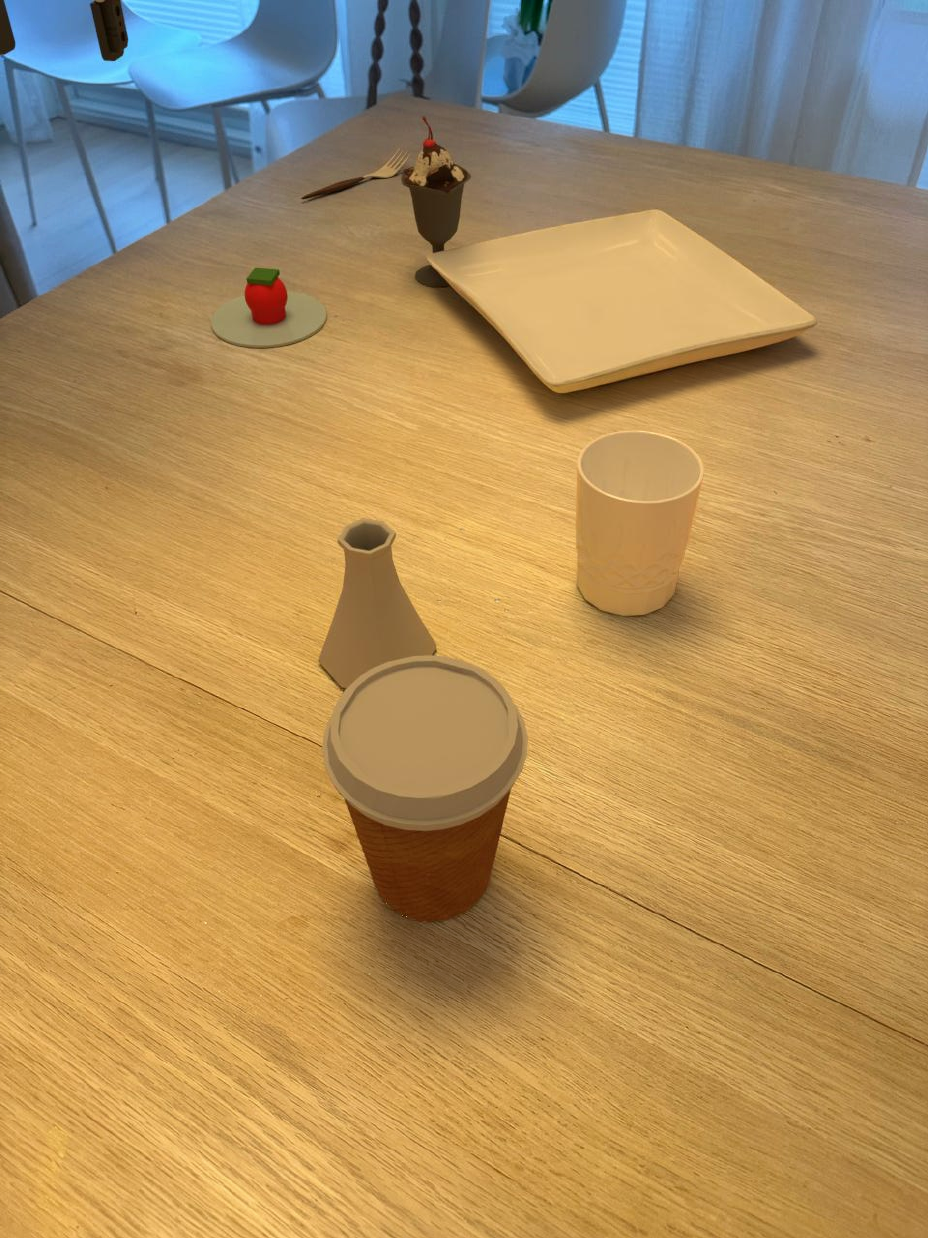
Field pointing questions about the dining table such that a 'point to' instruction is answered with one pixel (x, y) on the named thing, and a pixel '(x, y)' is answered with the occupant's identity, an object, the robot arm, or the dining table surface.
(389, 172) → the fork
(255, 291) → the strawberry
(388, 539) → the flask
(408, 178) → the sundae
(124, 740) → the dining table surface
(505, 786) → the disposable coffee cup
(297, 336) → the saucer
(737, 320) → the square plate
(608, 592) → the white cup
